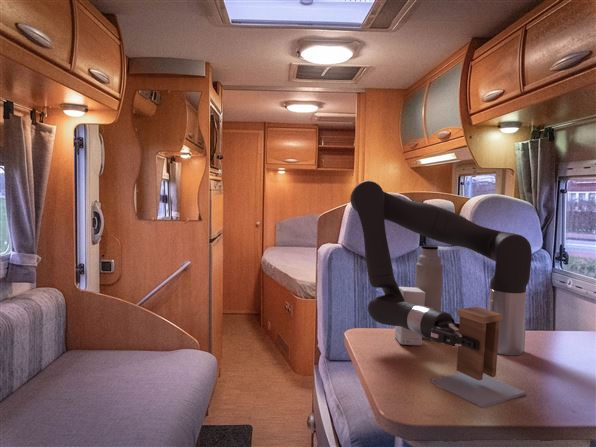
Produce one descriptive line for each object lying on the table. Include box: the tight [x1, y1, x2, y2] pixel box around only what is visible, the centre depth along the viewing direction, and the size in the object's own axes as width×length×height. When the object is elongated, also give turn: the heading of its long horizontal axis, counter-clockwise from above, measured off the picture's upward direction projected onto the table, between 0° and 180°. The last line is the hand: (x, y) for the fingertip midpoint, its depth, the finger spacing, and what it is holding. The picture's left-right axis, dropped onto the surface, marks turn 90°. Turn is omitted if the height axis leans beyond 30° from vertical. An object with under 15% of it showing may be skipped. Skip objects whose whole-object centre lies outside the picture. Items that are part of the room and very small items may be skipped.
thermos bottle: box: [414, 244, 444, 340], centre depth 139 cm, size 8×8×28 cm
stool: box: [456, 306, 503, 380], centre depth 100 cm, size 6×7×14 cm
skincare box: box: [394, 286, 425, 347], centre depth 132 cm, size 8×7×16 cm
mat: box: [430, 372, 526, 409], centre depth 101 cm, size 14×14×1 cm
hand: (487, 343), depth 98 cm, fingers closed on stool, 5 cm apart
